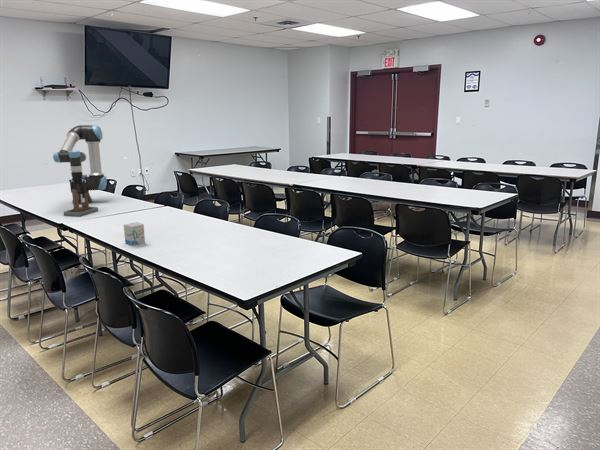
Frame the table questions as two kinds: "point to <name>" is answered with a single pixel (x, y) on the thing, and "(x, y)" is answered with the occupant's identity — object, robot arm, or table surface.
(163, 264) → the table surface
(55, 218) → the table surface
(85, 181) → the robot arm
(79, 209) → the brown tapered wooden part
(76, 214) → the tray
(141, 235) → the ink box
